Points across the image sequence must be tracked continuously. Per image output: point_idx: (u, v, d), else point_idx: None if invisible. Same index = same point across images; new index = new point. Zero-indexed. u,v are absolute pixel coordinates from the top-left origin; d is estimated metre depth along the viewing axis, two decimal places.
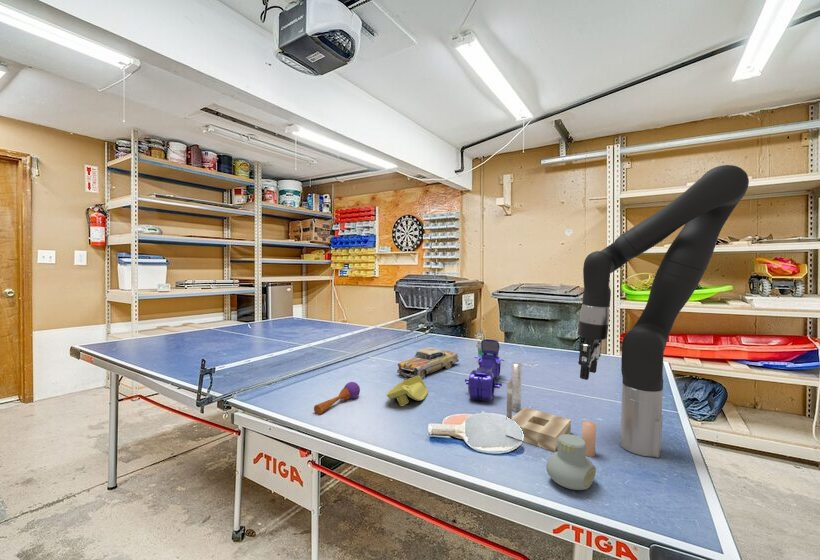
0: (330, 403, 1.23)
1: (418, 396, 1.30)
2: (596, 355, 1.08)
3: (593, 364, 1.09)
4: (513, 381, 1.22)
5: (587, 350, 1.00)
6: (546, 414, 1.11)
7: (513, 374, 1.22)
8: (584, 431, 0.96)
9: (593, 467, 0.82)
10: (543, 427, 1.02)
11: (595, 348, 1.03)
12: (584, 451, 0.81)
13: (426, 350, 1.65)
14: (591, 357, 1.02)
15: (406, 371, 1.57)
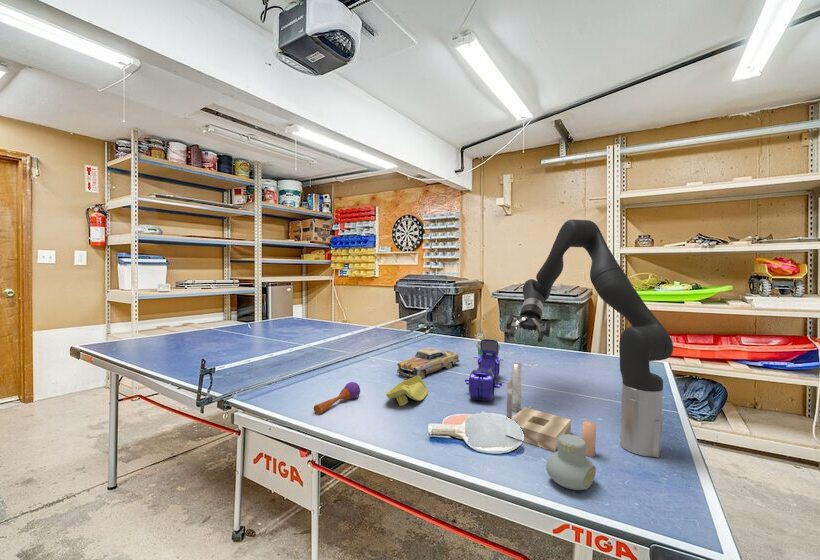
0: (329, 403, 1.23)
1: (417, 396, 1.30)
2: (537, 327, 1.24)
3: None
4: (513, 381, 1.22)
5: (509, 317, 1.30)
6: (546, 414, 1.11)
7: (513, 374, 1.22)
8: (584, 431, 0.96)
9: (593, 467, 0.82)
10: (543, 427, 1.02)
11: None
12: (584, 451, 0.81)
13: (426, 350, 1.65)
14: None
15: (406, 371, 1.57)
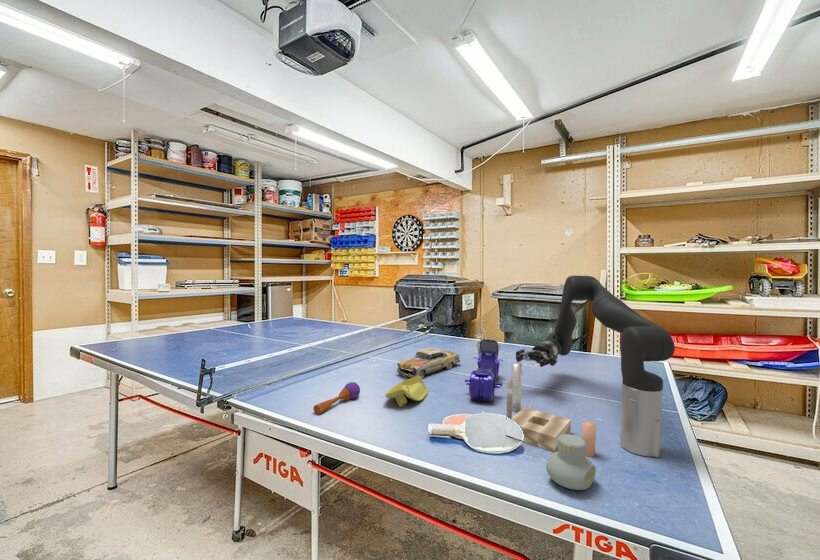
0: (329, 403, 1.23)
1: (417, 396, 1.30)
2: (543, 357, 1.34)
3: None
4: (513, 381, 1.22)
5: None
6: (546, 414, 1.11)
7: (513, 374, 1.22)
8: (584, 431, 0.96)
9: (593, 467, 0.82)
10: (543, 427, 1.02)
11: None
12: (584, 451, 0.81)
13: (426, 350, 1.65)
14: None
15: (405, 371, 1.58)
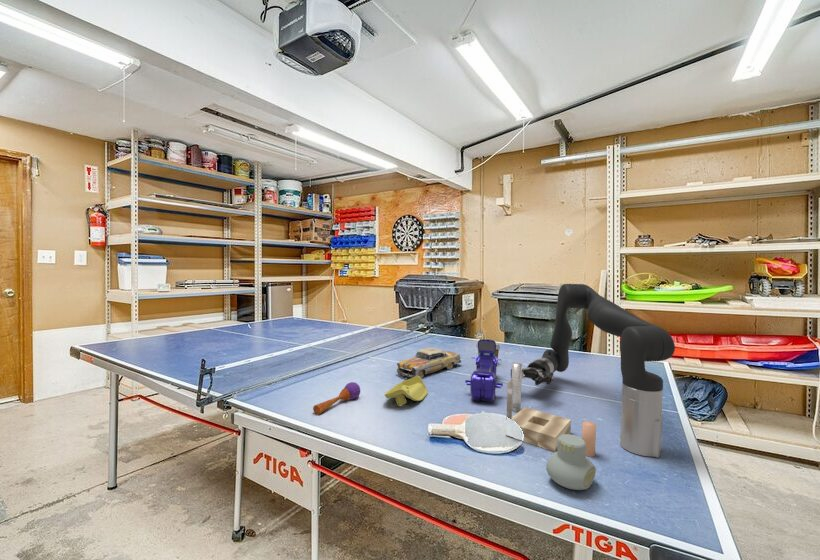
0: (329, 404, 1.23)
1: (416, 396, 1.30)
2: (538, 374, 1.30)
3: None
4: (513, 381, 1.22)
5: None
6: (546, 414, 1.11)
7: (513, 374, 1.22)
8: (584, 431, 0.96)
9: (593, 467, 0.82)
10: (543, 427, 1.02)
11: None
12: (584, 451, 0.81)
13: (426, 350, 1.65)
14: None
15: (405, 371, 1.58)
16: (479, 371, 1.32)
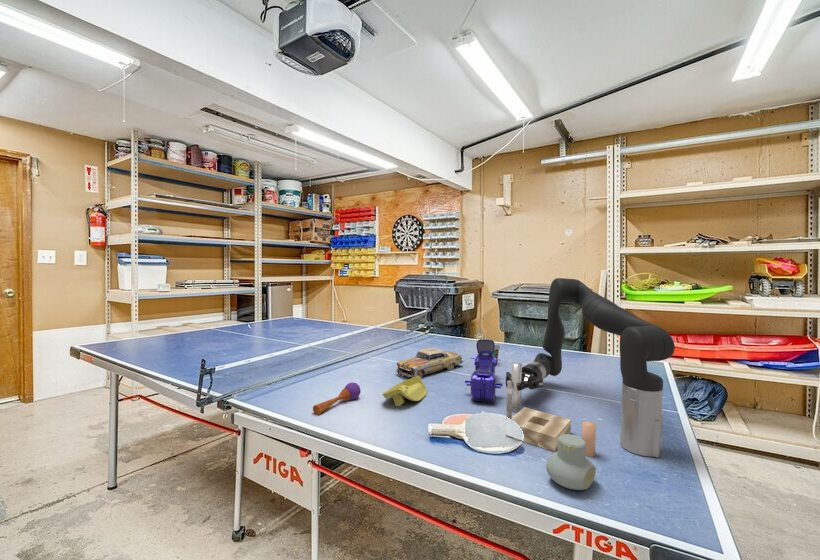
0: (329, 404, 1.23)
1: (415, 397, 1.30)
2: (524, 379, 1.25)
3: None
4: (513, 381, 1.22)
5: (506, 374, 1.31)
6: (546, 414, 1.11)
7: (513, 374, 1.22)
8: (583, 431, 0.96)
9: (593, 467, 0.82)
10: (543, 427, 1.02)
11: None
12: (584, 451, 0.81)
13: (427, 350, 1.65)
14: None
15: (404, 370, 1.58)
16: (479, 371, 1.32)
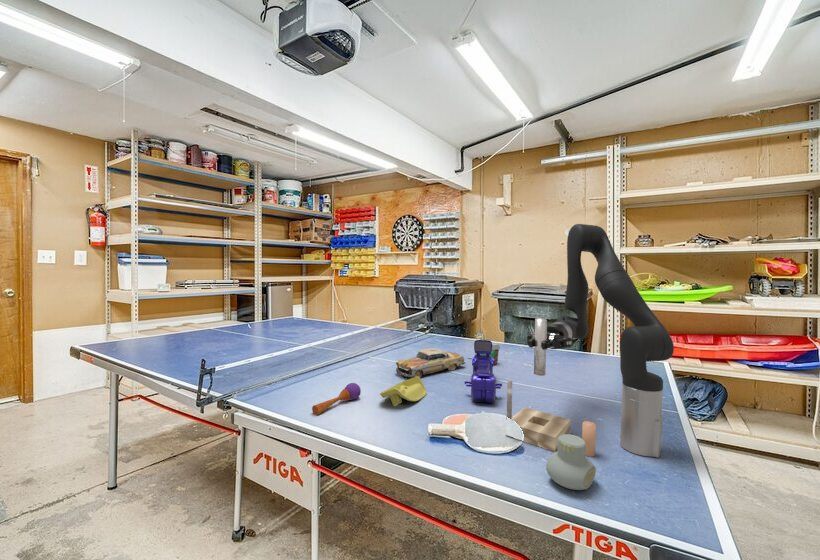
0: (328, 404, 1.22)
1: (412, 397, 1.30)
2: (549, 338, 1.07)
3: None
4: (536, 339, 1.04)
5: (527, 334, 1.13)
6: (546, 414, 1.11)
7: (537, 331, 1.04)
8: (584, 431, 0.96)
9: (593, 467, 0.82)
10: (543, 427, 1.02)
11: None
12: (584, 451, 0.81)
13: (427, 350, 1.64)
14: None
15: (403, 370, 1.59)
16: (479, 372, 1.31)
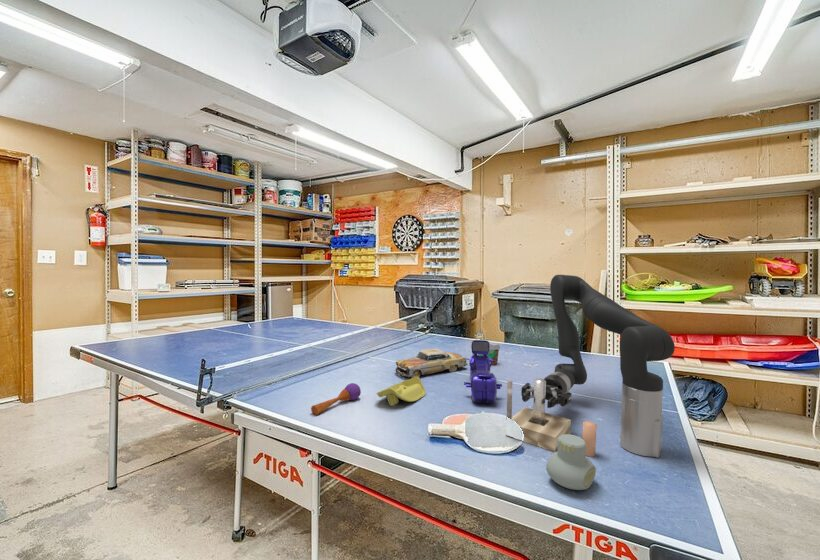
0: (327, 404, 1.22)
1: (410, 397, 1.29)
2: (552, 394, 1.07)
3: None
4: (535, 400, 1.06)
5: None
6: (546, 414, 1.11)
7: (536, 392, 1.05)
8: (584, 431, 0.95)
9: (593, 467, 0.82)
10: (543, 427, 1.02)
11: None
12: (584, 451, 0.81)
13: (427, 351, 1.64)
14: None
15: (402, 370, 1.59)
16: (480, 373, 1.30)
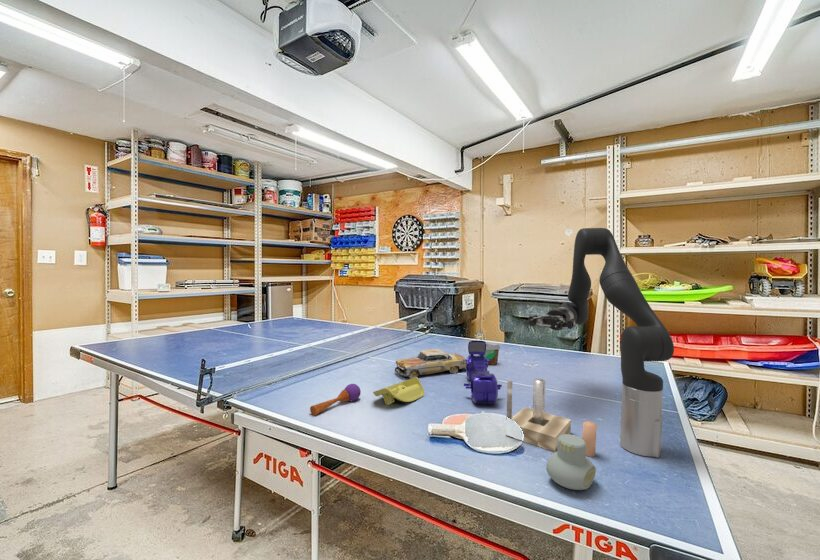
0: (326, 405, 1.22)
1: (406, 397, 1.29)
2: (559, 320, 1.21)
3: None
4: (535, 400, 1.05)
5: None
6: (546, 414, 1.11)
7: (536, 392, 1.05)
8: (585, 431, 0.95)
9: (593, 467, 0.82)
10: (543, 427, 1.02)
11: None
12: (584, 451, 0.81)
13: (428, 351, 1.64)
14: None
15: (401, 369, 1.60)
16: (480, 374, 1.29)
